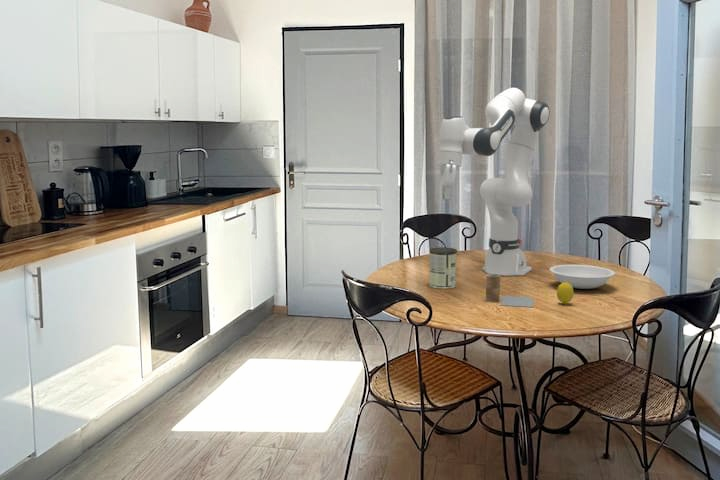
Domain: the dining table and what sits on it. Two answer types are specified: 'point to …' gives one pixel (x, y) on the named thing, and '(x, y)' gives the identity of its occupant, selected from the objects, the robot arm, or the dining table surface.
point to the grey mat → (517, 301)
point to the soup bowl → (582, 275)
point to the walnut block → (493, 287)
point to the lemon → (565, 292)
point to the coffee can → (442, 268)
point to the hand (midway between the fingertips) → (445, 199)
